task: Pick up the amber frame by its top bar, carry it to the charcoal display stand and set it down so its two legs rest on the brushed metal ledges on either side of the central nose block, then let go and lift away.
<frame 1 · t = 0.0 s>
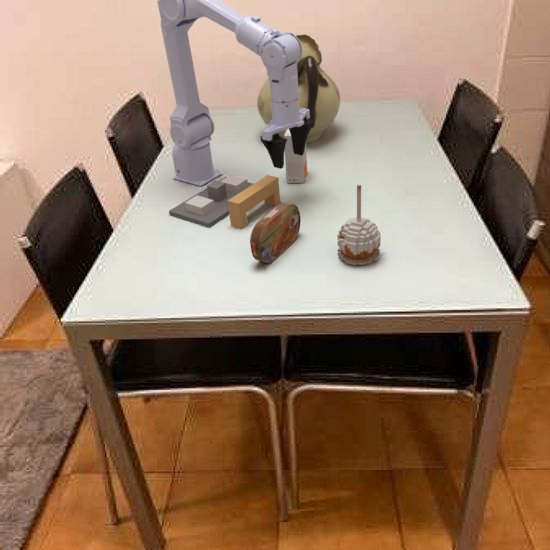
hand: (288, 160, 129), 10 cm above the table, tool pointing down, fingers open, 7 cm apart
skincare box: (297, 178, 145), on the table
tin: (277, 251, 119), on the table
beige sack vase: (302, 136, 167), on the table
stand: (218, 202, 137), on the table
frame: (256, 213, 132), on the table
caramel apple: (358, 256, 115), on the table
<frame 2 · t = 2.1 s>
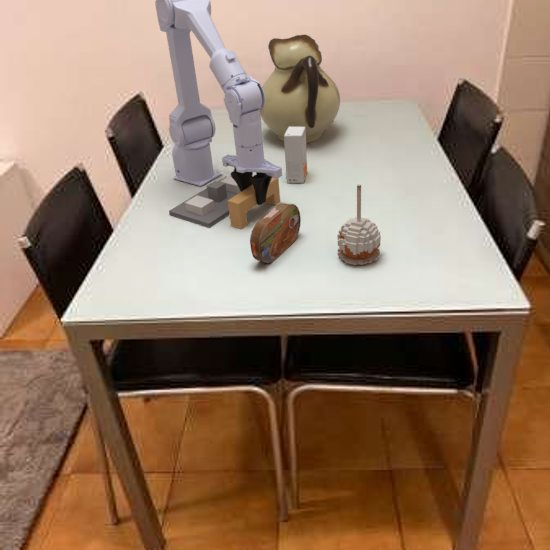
hand: (255, 201, 130), 3 cm above the table, tool pointing down, fingers closed on frame, 3 cm apart
frame: (256, 213, 132), on the table, touching gripper
everything else where it was.
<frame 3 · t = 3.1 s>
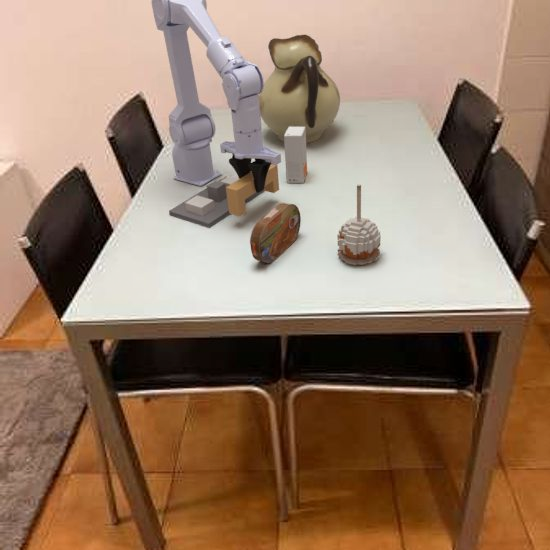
hand: (253, 188, 128), 6 cm above the table, tool pointing down, fingers closed on frame, 3 cm apart
frame: (254, 201, 130), point 3 cm above the table, touching gripper
everything else where it was.
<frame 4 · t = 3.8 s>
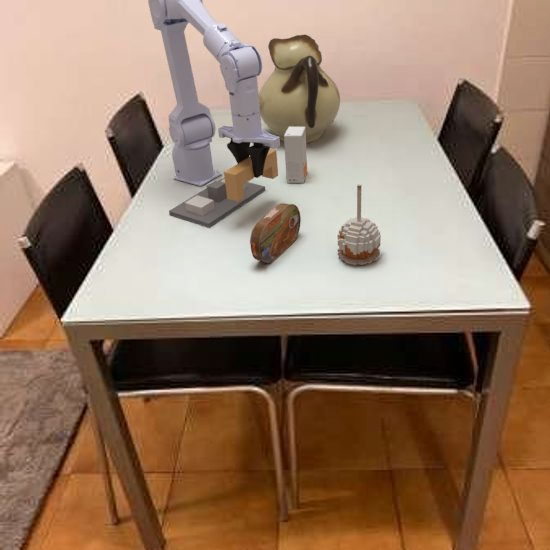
hand: (252, 174, 126), 9 cm above the table, tool pointing down, fingers closed on frame, 3 cm apart
frame: (253, 186, 128), point 6 cm above the table, touching gripper
everything else where it was.
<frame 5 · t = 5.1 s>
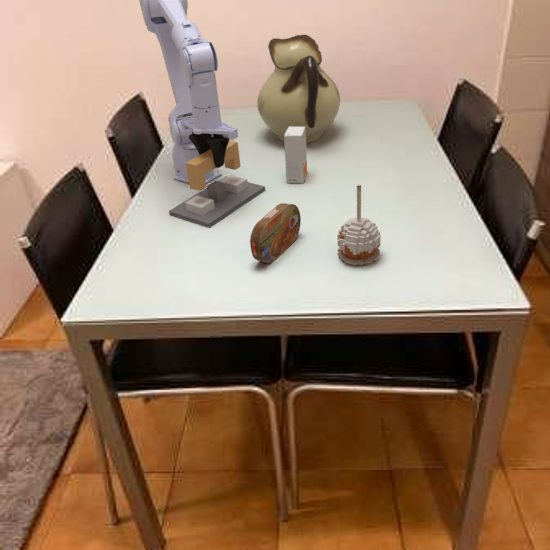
hand: (213, 164, 132), 9 cm above the table, tool pointing down, fingers closed on frame, 3 cm apart
frame: (215, 177, 134), point 6 cm above the table, touching gripper
everything else where it was.
when the fingers open (7 cm above the table, at t = 6.0 s): frame stays where it is, resting on stand.
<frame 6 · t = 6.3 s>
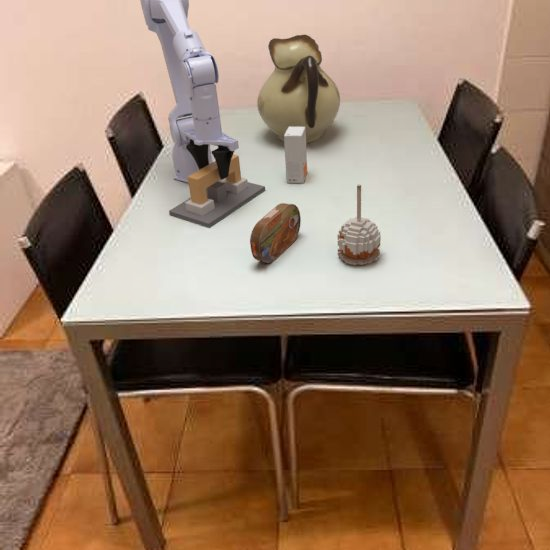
hand: (214, 174, 133), 7 cm above the table, tool pointing down, fingers open, 5 cm apart
frame: (217, 190, 136), point 3 cm above the table, touching stand
everything else where it was.
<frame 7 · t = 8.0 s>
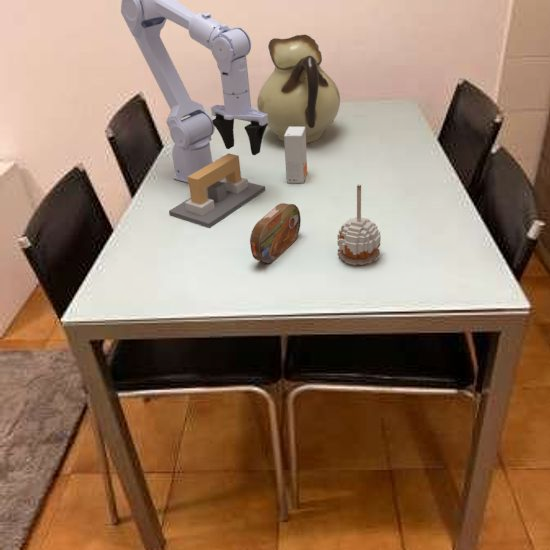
hand: (242, 150, 135), 10 cm above the table, tool pointing down, fingers open, 7 cm apart
nothing on the table moved.
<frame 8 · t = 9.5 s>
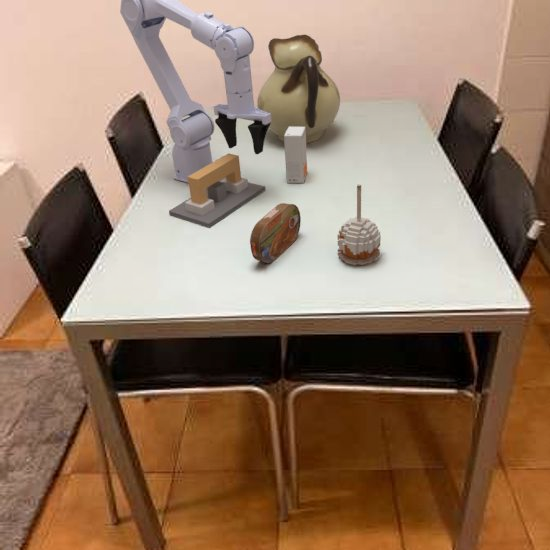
hand: (245, 149, 135), 10 cm above the table, tool pointing down, fingers open, 7 cm apart
nothing on the table moved.
at the end: frame 0.1 cm off-centre on the stand, point 3.0 cm above the stand's base; frame tilted 0°; the gripper is holding nothing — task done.
